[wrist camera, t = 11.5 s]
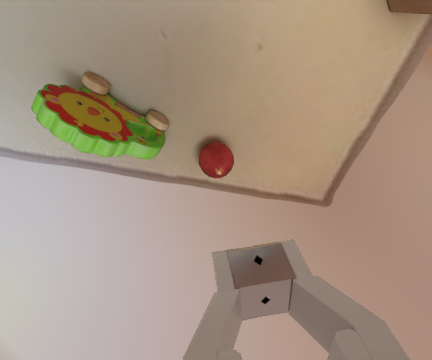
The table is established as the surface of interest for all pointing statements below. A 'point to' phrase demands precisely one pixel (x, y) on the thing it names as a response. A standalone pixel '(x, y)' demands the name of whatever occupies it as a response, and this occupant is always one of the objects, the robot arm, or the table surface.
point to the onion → (216, 160)
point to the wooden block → (411, 6)
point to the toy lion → (98, 120)
